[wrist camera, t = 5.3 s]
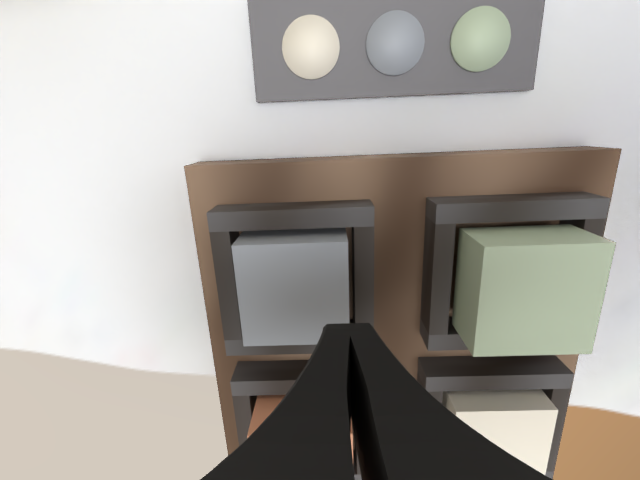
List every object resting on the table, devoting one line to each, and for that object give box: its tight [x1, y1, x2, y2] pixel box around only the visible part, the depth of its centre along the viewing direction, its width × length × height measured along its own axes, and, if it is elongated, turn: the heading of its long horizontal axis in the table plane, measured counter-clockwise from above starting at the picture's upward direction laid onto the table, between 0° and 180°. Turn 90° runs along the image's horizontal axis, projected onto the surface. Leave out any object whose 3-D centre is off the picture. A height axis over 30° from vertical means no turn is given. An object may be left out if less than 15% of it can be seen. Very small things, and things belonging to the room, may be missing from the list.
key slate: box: [231, 228, 349, 346], centre depth 15 cm, size 4×4×2 cm
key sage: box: [452, 224, 616, 357], centre depth 14 cm, size 4×4×2 cm
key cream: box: [442, 389, 558, 475], centre depth 17 cm, size 4×4×2 cm
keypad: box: [184, 146, 621, 480], centre depth 18 cm, size 18×18×4 cm
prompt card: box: [248, 0, 545, 103], centre depth 15 cm, size 12×4×1 cm, turn 92°
